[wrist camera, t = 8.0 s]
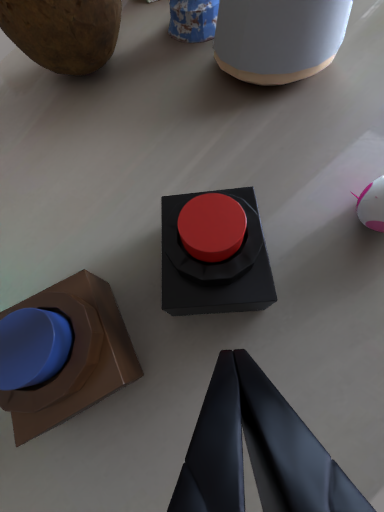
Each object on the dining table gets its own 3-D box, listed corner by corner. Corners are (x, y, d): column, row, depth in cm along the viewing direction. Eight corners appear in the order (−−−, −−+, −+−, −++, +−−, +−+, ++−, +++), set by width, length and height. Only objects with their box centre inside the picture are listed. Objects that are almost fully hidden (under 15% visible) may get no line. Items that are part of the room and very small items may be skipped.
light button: (247, 259, 16) (252, 248, 14) (182, 265, 17) (178, 255, 15) (238, 205, 18) (241, 189, 16) (180, 211, 19) (176, 196, 17)
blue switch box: (144, 375, 19) (113, 389, 13) (61, 424, 19) (-11, 462, 13) (108, 282, 23) (72, 261, 17) (38, 319, 22) (-26, 310, 16)
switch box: (264, 310, 21) (285, 295, 15) (172, 316, 21) (155, 305, 15) (246, 213, 25) (257, 172, 19) (170, 221, 25) (156, 183, 19)
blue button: (81, 361, 15) (62, 364, 13) (14, 399, 14) (-17, 407, 12) (64, 300, 16) (45, 294, 15) (4, 331, 16) (-24, 330, 14)
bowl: (20, 98, 39) (-87, -38, 25) (66, 40, 45) (1, -92, 31) (114, 103, 35) (51, -50, 22) (148, 40, 42) (116, -108, 28)
